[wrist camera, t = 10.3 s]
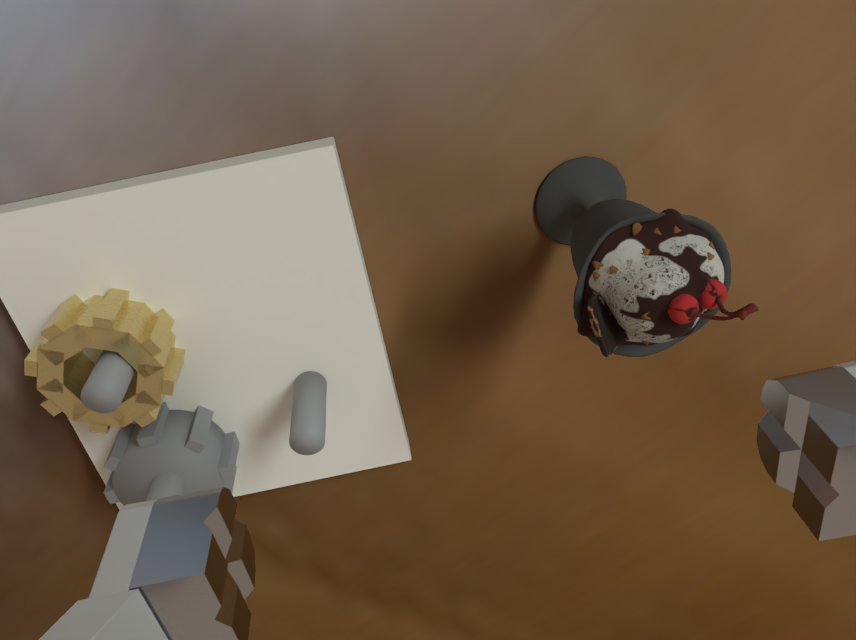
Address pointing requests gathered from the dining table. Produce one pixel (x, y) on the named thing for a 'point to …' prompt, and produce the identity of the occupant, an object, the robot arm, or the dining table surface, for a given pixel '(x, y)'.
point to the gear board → (221, 320)
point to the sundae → (633, 261)
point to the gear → (114, 331)
